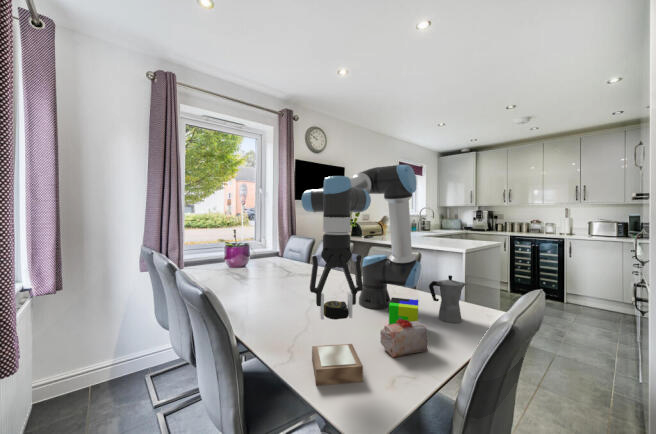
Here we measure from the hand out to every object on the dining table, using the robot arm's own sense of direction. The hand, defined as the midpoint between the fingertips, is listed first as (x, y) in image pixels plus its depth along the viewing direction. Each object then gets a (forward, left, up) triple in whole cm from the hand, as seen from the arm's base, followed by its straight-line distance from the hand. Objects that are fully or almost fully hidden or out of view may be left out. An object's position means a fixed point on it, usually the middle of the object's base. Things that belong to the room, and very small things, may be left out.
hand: (335, 316), depth 74 cm
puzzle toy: (-30, -23, -15) cm, 41 cm away
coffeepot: (-52, -30, -15) cm, 62 cm away
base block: (0, 0, -15) cm, 15 cm away
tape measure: (-1, 0, 0) cm, 1 cm away
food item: (-23, -8, -15) cm, 29 cm away
